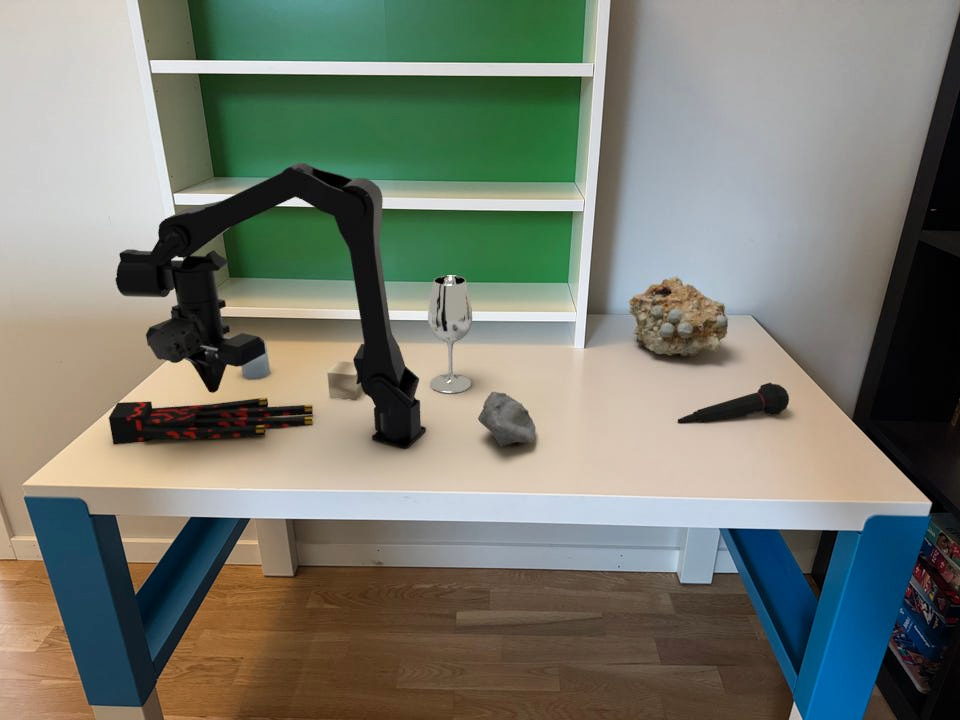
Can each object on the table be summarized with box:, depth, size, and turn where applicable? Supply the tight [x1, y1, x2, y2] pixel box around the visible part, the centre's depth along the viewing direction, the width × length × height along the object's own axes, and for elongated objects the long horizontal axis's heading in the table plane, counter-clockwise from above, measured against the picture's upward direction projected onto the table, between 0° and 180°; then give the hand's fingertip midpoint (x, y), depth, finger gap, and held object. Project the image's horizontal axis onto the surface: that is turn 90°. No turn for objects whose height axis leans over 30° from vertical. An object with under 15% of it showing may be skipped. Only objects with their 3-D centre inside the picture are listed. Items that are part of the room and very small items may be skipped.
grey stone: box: [477, 391, 536, 447], centre depth 107 cm, size 11×9×8 cm
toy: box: [108, 397, 314, 445], centre depth 110 cm, size 8×5×30 cm
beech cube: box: [327, 360, 364, 401], centre depth 122 cm, size 5×5×5 cm
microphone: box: [677, 382, 790, 424], centre depth 116 cm, size 6×6×20 cm
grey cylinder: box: [240, 340, 271, 381], centre depth 129 cm, size 5×5×6 cm
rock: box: [628, 275, 729, 357], centre depth 140 cm, size 19×19×15 cm
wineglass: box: [427, 275, 473, 394], centre depth 123 cm, size 8×8×20 cm
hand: (213, 391), depth 108 cm, fingers closed
